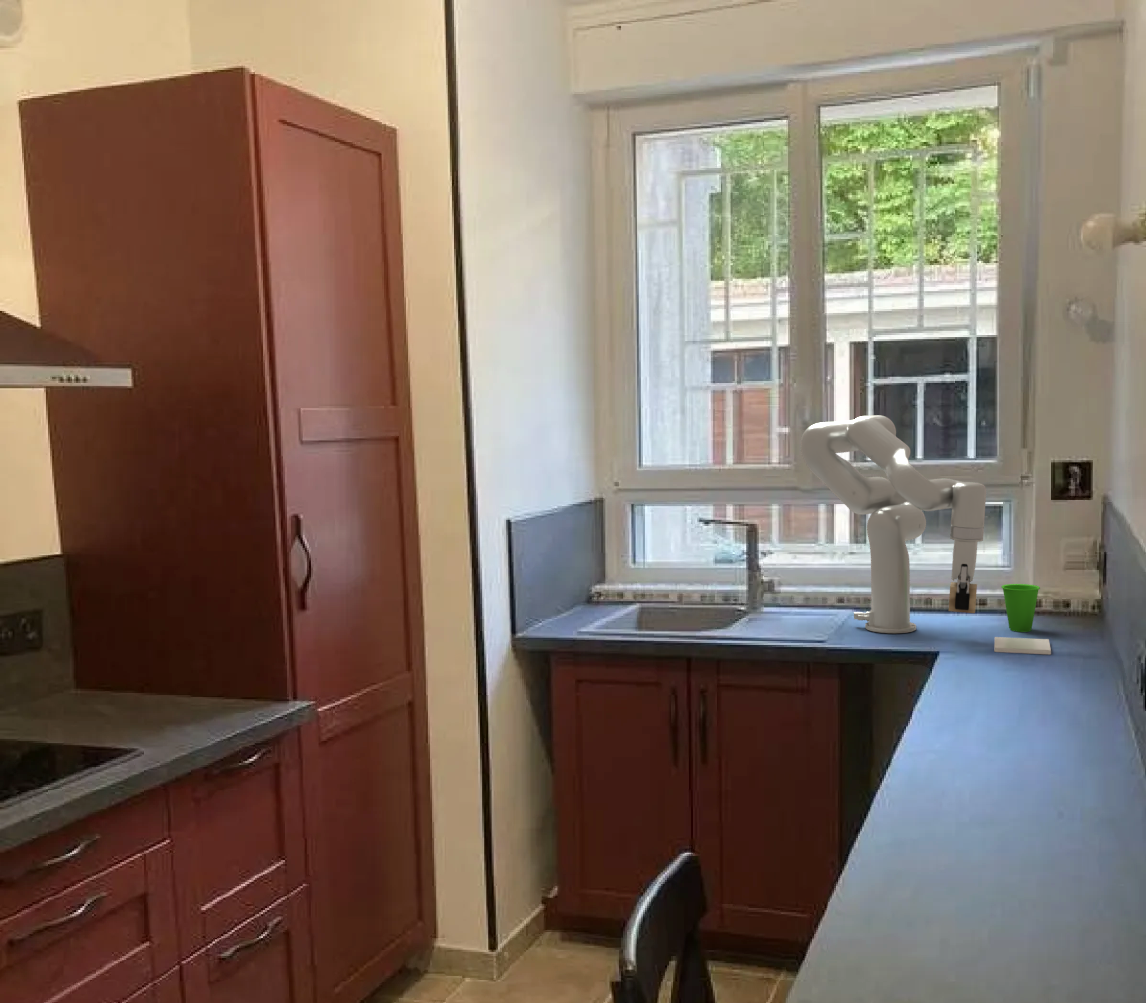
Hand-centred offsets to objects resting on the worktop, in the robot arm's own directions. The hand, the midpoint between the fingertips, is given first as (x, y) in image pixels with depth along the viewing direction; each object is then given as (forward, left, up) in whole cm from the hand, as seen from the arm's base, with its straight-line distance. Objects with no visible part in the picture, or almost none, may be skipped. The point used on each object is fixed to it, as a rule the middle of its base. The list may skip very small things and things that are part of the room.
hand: (962, 605), depth 269 cm
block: (0, 0, -1) cm, 1 cm away
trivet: (+13, -7, -8) cm, 17 cm away
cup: (+13, +14, -8) cm, 21 cm away
